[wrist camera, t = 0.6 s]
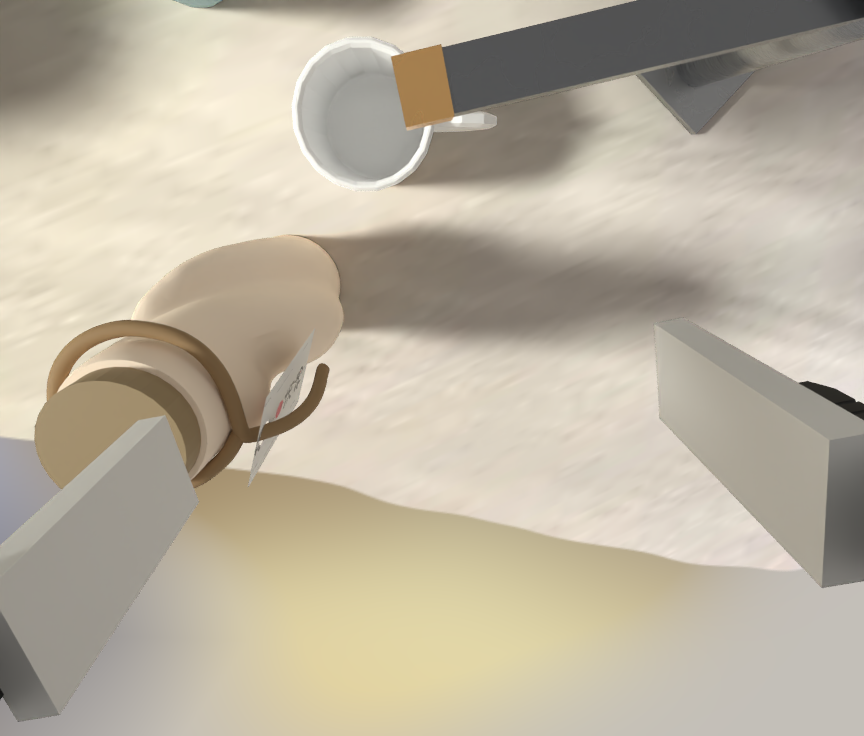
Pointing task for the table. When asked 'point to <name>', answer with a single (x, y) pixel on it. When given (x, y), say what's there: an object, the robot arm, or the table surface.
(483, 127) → the mug
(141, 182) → the table surface
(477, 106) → the bar
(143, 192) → the table surface
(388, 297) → the table surface
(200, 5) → the cup
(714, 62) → the post
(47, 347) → the table surface
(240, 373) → the water bottle
